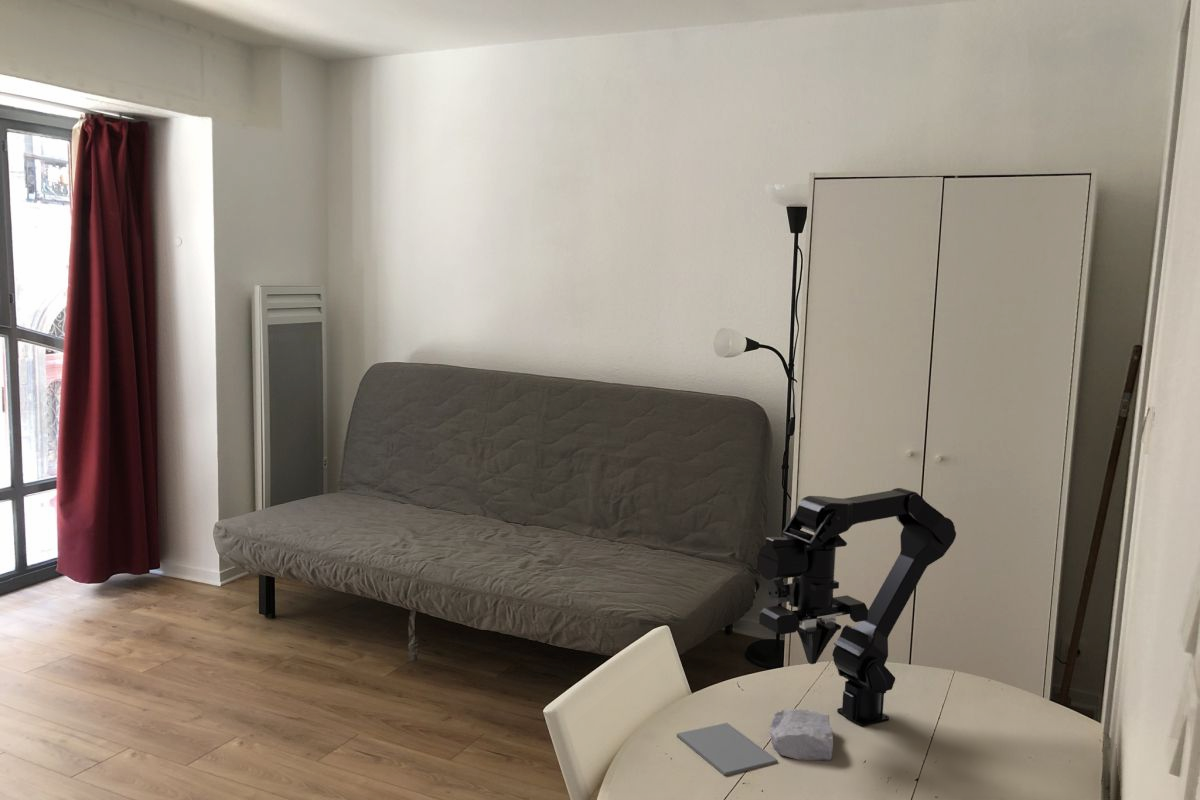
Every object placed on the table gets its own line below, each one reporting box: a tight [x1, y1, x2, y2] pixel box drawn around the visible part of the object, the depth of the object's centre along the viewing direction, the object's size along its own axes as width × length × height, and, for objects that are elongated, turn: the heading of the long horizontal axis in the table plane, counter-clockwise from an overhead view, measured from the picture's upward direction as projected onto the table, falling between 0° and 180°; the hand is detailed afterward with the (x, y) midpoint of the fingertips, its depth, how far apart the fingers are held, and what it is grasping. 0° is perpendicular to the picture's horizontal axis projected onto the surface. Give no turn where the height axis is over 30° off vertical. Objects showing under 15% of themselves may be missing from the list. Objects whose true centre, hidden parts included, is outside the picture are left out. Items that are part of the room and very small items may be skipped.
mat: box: [676, 722, 778, 777], centre depth 153 cm, size 10×14×1 cm
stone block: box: [769, 708, 834, 762], centre depth 156 cm, size 12×5×10 cm
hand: (811, 663), depth 159 cm, fingers closed
